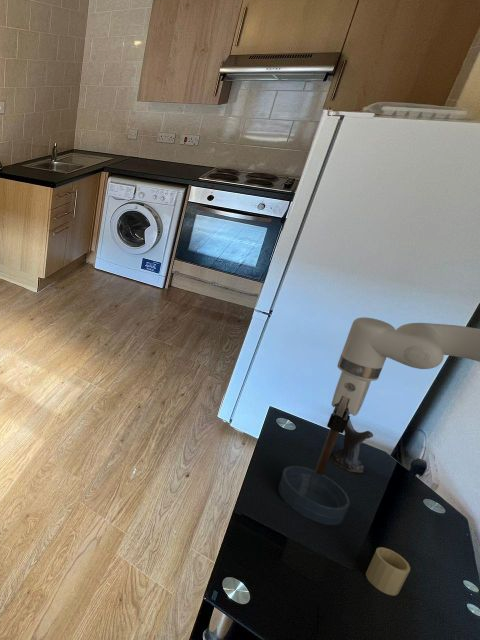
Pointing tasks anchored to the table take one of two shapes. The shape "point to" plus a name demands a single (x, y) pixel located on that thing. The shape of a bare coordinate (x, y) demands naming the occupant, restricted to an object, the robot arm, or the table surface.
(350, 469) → the antler
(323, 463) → the stick
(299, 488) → the bowl
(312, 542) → the table surface
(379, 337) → the robot arm
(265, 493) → the table surface
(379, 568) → the cup
